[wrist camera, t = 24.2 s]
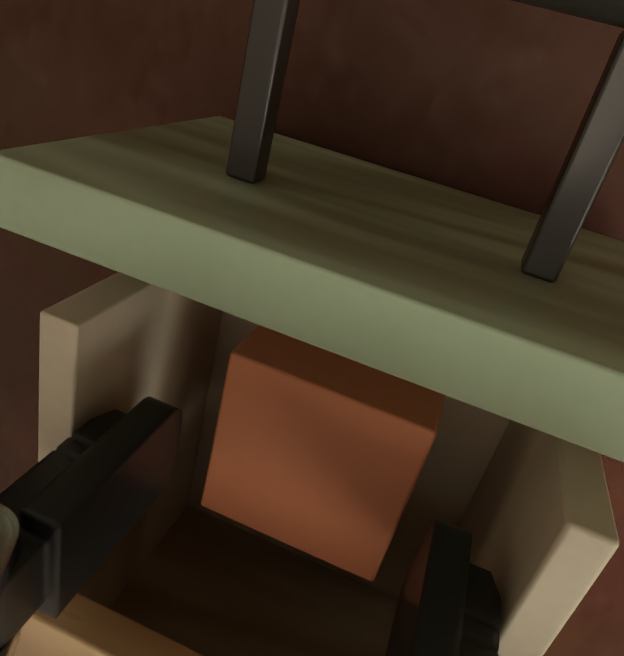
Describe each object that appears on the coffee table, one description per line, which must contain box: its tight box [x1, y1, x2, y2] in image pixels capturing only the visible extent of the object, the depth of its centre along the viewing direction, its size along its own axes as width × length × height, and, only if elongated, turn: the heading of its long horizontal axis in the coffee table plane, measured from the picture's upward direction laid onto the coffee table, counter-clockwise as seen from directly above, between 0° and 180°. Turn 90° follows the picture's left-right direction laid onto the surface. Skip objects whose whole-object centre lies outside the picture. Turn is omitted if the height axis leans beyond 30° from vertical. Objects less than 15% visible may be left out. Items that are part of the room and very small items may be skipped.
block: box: [201, 325, 446, 581], centre depth 14 cm, size 4×4×4 cm
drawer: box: [0, 0, 624, 656], centre depth 13 cm, size 19×12×8 cm, turn 166°
